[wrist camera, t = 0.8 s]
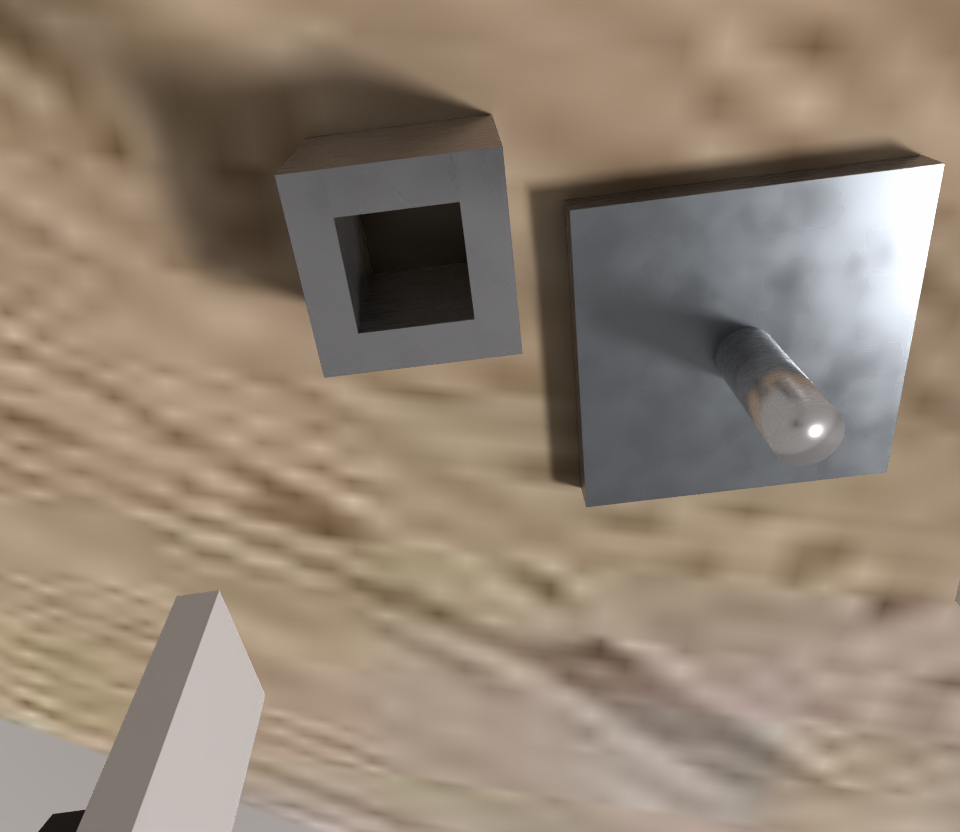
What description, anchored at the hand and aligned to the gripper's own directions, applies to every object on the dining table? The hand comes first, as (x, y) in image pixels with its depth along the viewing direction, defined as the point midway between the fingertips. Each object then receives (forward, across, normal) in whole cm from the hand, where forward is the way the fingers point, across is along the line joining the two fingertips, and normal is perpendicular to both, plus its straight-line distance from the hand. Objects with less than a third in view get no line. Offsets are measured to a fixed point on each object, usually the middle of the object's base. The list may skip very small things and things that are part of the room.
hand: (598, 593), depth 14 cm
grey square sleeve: (+20, -4, +2) cm, 21 cm away
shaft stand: (+20, +9, -6) cm, 23 cm away
